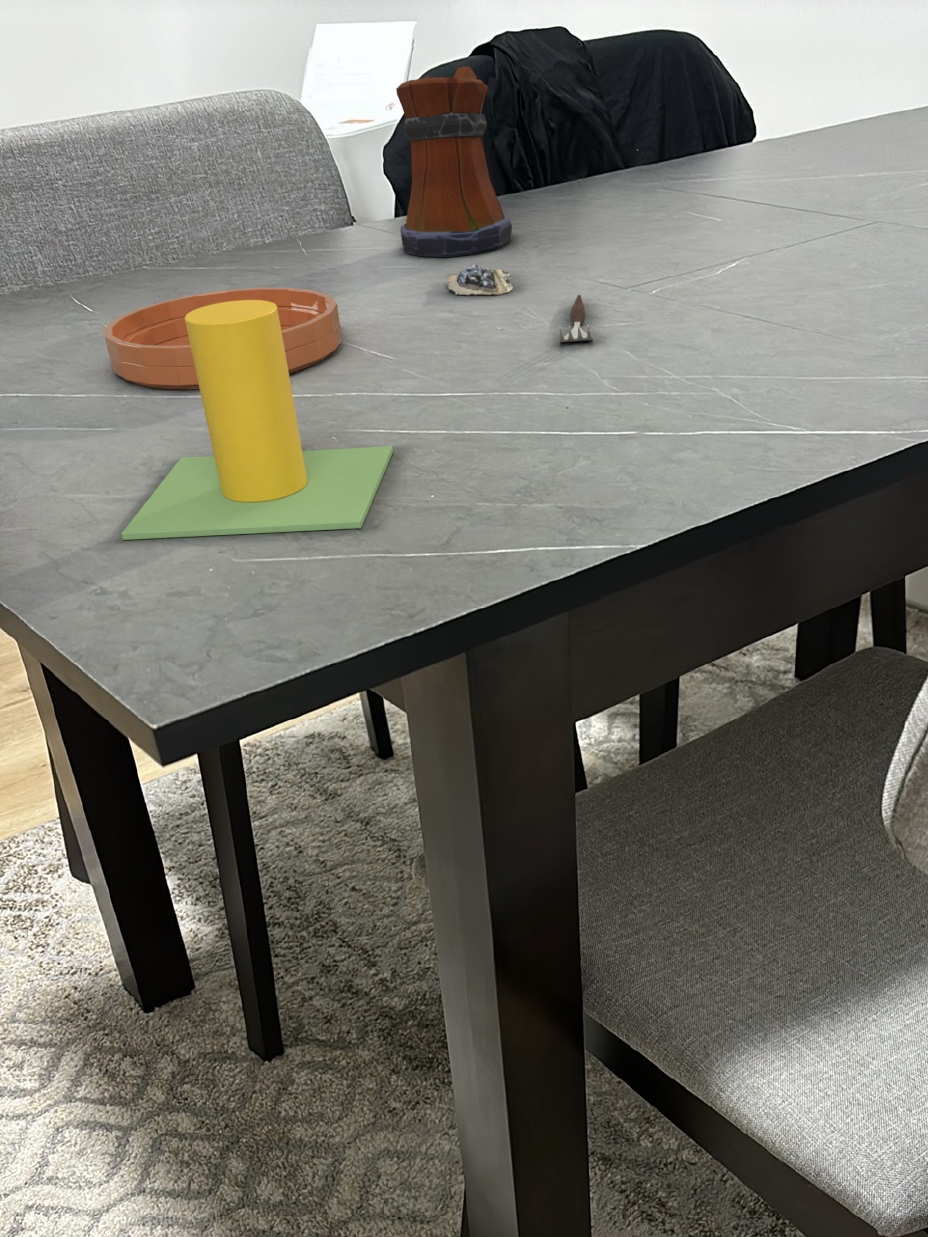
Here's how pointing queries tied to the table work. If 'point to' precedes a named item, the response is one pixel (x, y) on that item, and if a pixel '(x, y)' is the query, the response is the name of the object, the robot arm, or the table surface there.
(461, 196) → the brown rook tower
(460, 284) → the dark rock pile
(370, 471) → the green board
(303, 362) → the pan
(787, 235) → the table surface
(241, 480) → the yellow cylinder
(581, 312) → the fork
